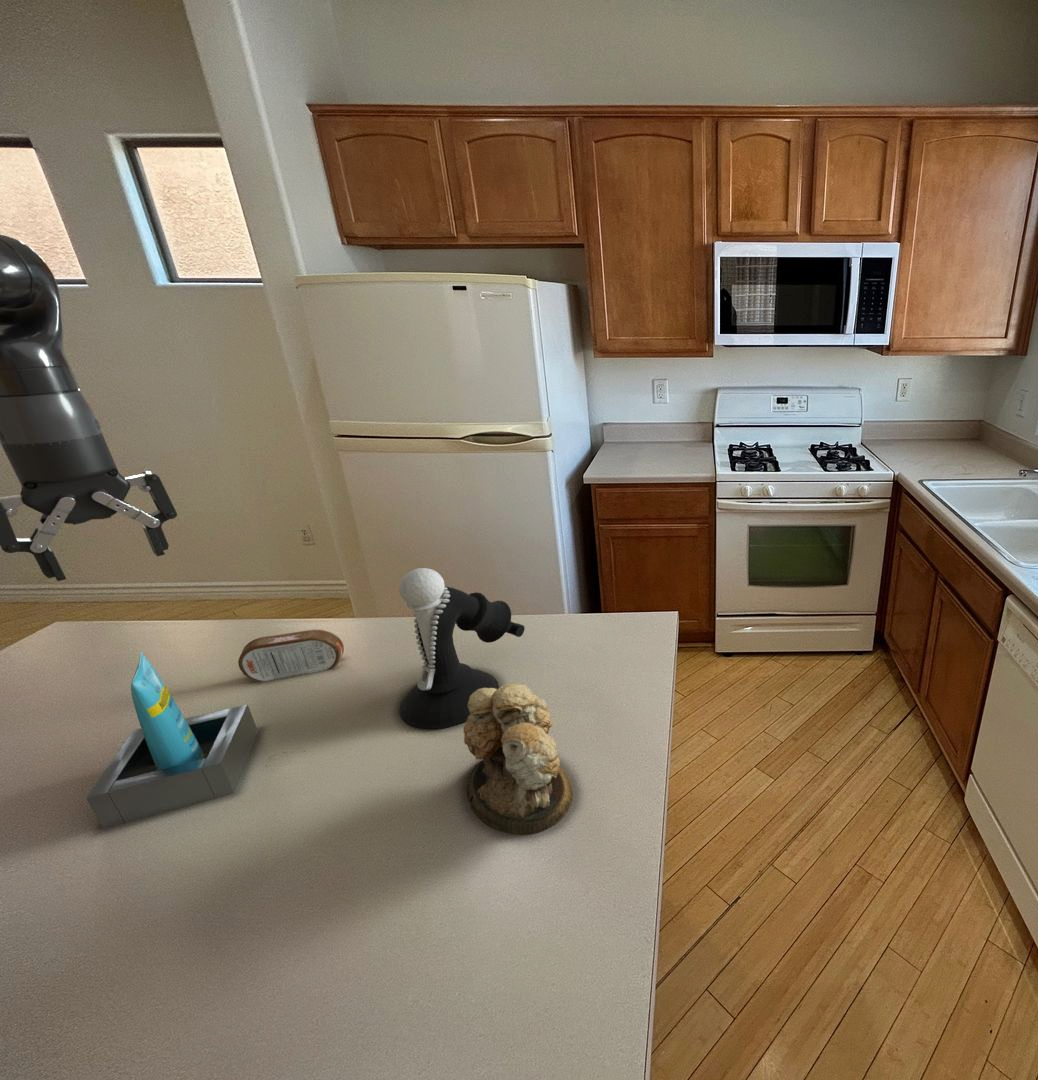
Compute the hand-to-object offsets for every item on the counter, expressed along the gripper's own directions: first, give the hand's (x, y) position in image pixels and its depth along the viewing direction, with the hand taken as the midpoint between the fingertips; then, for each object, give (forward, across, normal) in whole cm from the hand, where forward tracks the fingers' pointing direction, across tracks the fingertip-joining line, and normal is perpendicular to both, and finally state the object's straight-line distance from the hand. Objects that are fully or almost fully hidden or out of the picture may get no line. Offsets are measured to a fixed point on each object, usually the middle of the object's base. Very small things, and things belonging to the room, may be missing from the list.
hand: (112, 566), depth 67 cm
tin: (+32, -17, -13) cm, 39 cm away
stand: (+32, +2, +2) cm, 32 cm away
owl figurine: (+32, -23, +41) cm, 57 cm away
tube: (+32, +2, +2) cm, 32 cm away
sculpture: (+32, -33, +15) cm, 49 cm away
